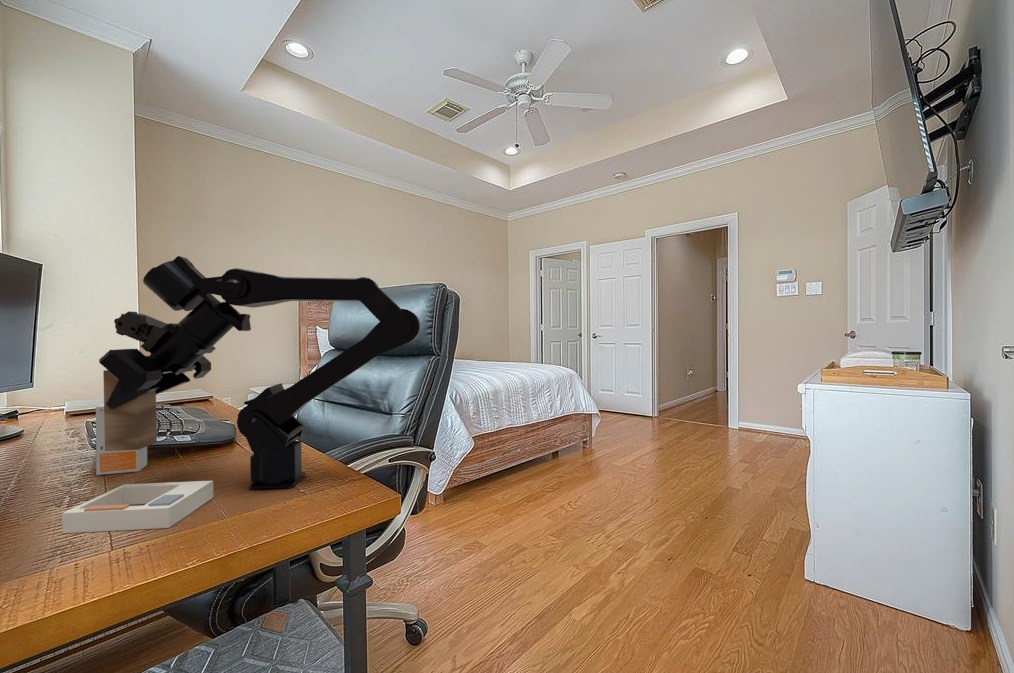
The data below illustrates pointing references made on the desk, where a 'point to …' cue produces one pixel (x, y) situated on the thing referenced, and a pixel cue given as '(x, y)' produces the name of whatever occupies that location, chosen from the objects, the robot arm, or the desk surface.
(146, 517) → the tray
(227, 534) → the desk surface
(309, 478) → the desk surface
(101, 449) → the skincare box
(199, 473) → the desk surface
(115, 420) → the walnut plug
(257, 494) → the desk surface
